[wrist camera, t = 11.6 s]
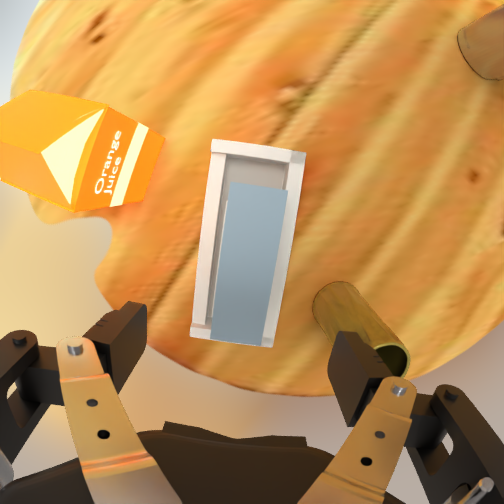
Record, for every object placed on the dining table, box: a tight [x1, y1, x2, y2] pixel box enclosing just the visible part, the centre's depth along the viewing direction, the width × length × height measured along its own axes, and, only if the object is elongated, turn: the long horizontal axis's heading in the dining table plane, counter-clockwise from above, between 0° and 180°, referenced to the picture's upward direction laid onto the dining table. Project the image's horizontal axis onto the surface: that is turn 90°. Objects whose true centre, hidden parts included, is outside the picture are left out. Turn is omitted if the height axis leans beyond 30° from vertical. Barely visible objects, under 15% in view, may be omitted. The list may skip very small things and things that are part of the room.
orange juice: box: [0, 90, 165, 213], centre depth 21 cm, size 8×9×20 cm
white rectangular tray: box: [190, 139, 306, 348], centre depth 31 cm, size 9×20×4 cm, turn 172°
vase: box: [313, 282, 410, 378], centre depth 28 cm, size 6×6×14 cm
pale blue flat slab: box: [210, 182, 288, 346], centre depth 26 cm, size 4×12×10 cm, turn 171°
